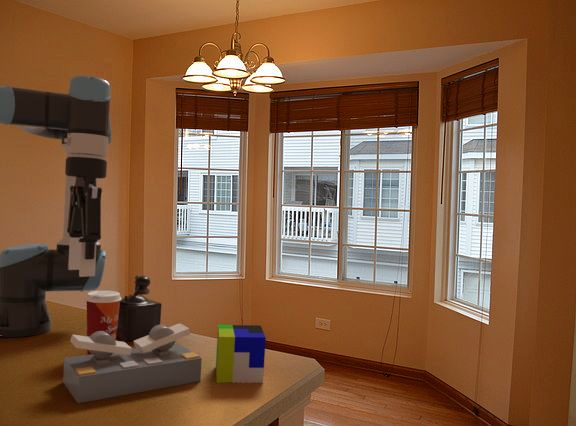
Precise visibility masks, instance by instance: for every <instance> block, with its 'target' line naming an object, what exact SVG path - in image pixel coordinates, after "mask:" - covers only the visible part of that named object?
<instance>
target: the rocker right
mask: <svg viewBox="0 0 576 426" xmlns="http://www.w3.org/2000/svg"><path fill="white" fill-rule="evenodd" d="M189 335H191V330H190V328H189V327H187V326H186V325H184V324H183V323H176V324H174V325H171V326H170V327H168V326H166V325H165V324H160V325H157V326H155V327H153V328H152V329H151V331H150V333H149V335H148V336H145V337H142V338H140V339H137V340H135V341H133V345H134V347H135V349H138V350H139V351H141V352H142V353H145V352H148V351H150V350H153V349H155V348H157V349H159V350H161V351H166V350H169V349H170V348H171V347H172V346H173V345H174V344H176V341H177V340H180V339H183V338H185V337H186V336H189Z"/></svg>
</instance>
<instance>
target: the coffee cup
mask: <svg viewBox="0 0 576 426" xmlns="http://www.w3.org/2000/svg"><path fill="white" fill-rule="evenodd" d="M121 299H123V298H122V297H121V293H120V292H118V291H116V290H115V291H113V290H92V291H88V293H87V295H86V297H85V299H84V300H85V301H86V336H87V337H90V336H91V335H92V334H93V333H95V332H97V331H104V332H106V333H108V334H109V335H110V336H111V337H113V338H114V340H115V341H117V338H116V333H117V324H118V315H119V306H120V300H121ZM86 350H87V354H86V355H91V354H92V353H91V352H90V351H89V350H88V349H86Z"/></svg>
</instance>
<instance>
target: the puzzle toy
mask: <svg viewBox="0 0 576 426" xmlns="http://www.w3.org/2000/svg"><path fill="white" fill-rule="evenodd" d="M266 339H267V338H266V334H265V332H264V330H263V328H262V326H261V325H259V324H258V325H256V324H255V325H249V324H247V325H245V324H244V325H243V324H218V325H217V338H216V353H215V354H216V358H215V373H216V374H215V376H216V383H218V384H219V383H221V382H222V383H224V384H225V382H227V384H228V382H233V384H235V382H237V383H240V382H241V383H240V384H242V383H243V384H245V383H246V382H247V383H246V384H249V383H254V382H255V383H256V384H257V383H261V384H264V372H265V358H266V356H265V355H266V353H265V352H266ZM237 383H236V384H237ZM255 383H254V384H255Z"/></svg>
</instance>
